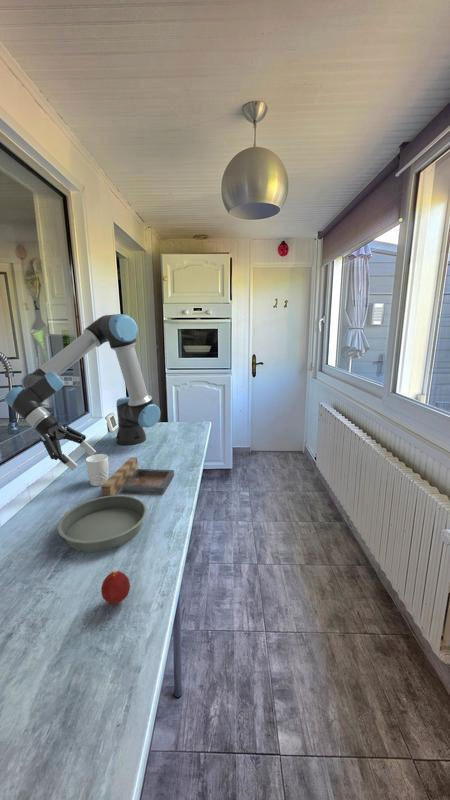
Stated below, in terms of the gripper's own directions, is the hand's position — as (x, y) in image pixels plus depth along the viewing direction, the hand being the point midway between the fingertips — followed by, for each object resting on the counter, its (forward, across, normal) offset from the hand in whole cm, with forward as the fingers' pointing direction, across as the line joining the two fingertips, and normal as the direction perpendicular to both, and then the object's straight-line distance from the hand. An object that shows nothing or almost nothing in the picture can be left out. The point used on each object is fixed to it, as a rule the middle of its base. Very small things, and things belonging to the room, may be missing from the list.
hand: (85, 460), depth 127 cm
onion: (+32, +54, +19) cm, 65 cm away
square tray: (+24, -1, +11) cm, 26 cm away
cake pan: (+21, +28, +8) cm, 36 cm away
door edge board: (+16, -1, +3) cm, 16 cm away
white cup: (+10, -1, -3) cm, 10 cm away
